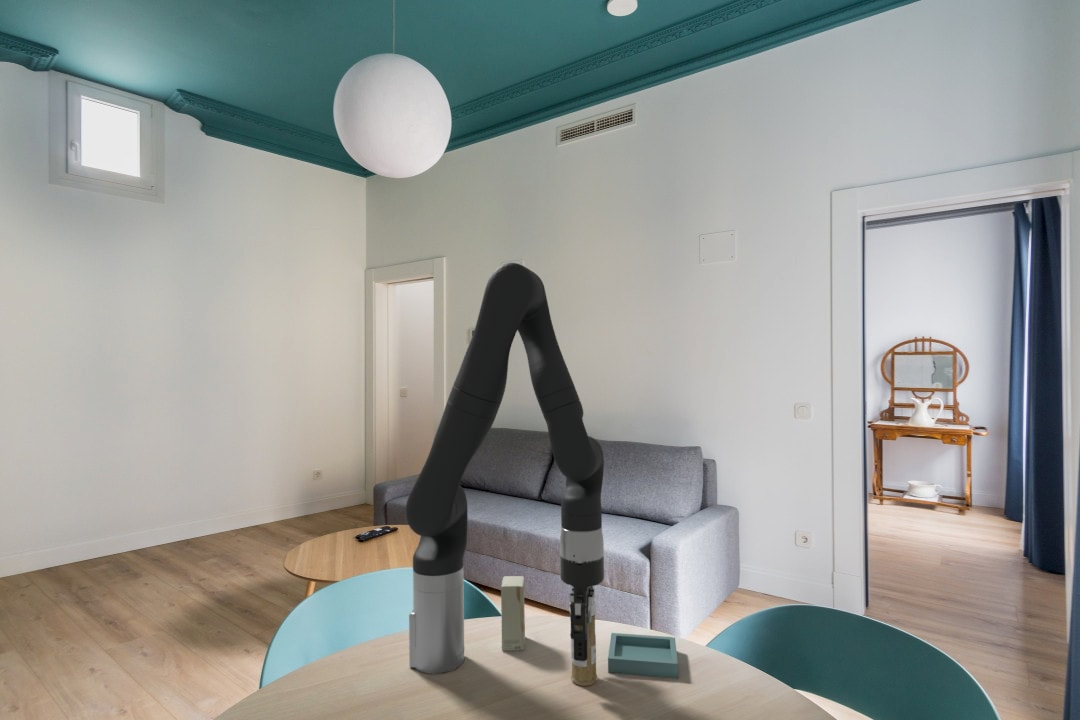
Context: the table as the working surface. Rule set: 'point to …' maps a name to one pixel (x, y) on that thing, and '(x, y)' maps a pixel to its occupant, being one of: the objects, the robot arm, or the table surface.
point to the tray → (643, 655)
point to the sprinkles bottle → (587, 669)
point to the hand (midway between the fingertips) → (583, 648)
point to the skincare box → (513, 613)
